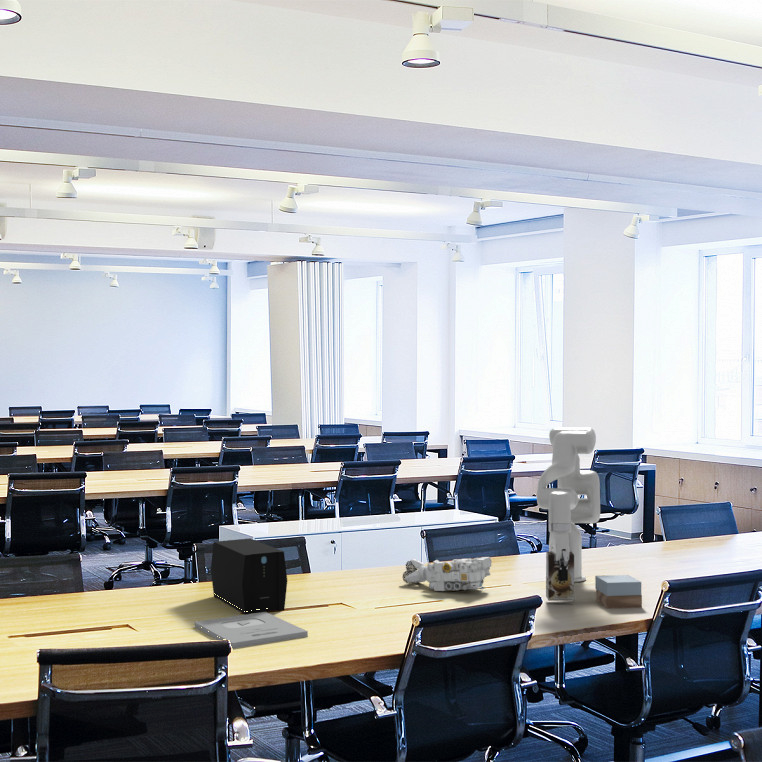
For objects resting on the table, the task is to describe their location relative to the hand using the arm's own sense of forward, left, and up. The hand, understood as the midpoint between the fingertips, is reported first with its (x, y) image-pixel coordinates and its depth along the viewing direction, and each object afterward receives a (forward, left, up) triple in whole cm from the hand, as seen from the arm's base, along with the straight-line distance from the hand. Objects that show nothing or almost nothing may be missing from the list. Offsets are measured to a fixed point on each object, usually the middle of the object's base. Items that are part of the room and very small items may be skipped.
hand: (560, 578), depth 341 cm
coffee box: (0, 0, -8) cm, 8 cm away
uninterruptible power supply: (-14, -109, -9) cm, 110 cm away
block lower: (+3, +20, -9) cm, 22 cm away
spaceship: (-28, -36, -9) cm, 47 cm away
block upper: (+3, +20, -5) cm, 20 cm away
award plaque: (+27, -106, -10) cm, 110 cm away
